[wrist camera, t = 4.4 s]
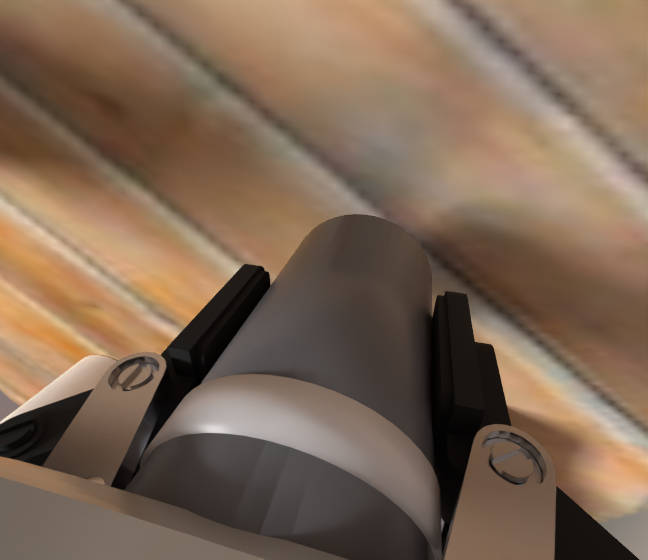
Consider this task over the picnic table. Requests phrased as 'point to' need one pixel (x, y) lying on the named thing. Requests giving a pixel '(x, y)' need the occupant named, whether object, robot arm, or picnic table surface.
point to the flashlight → (319, 406)
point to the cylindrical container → (69, 383)
